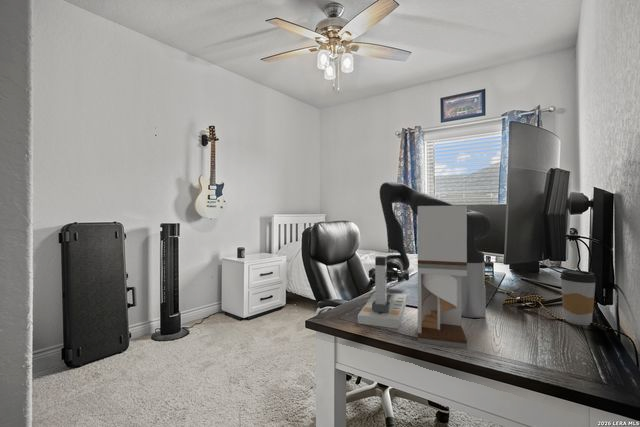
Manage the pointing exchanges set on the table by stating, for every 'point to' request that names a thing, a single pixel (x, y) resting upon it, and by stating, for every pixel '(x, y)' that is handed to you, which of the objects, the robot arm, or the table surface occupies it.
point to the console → (384, 318)
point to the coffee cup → (578, 296)
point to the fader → (381, 285)
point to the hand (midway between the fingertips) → (386, 278)
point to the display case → (441, 274)
